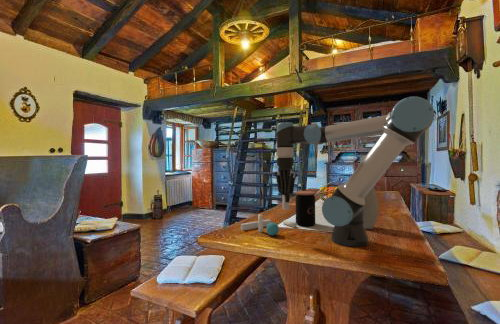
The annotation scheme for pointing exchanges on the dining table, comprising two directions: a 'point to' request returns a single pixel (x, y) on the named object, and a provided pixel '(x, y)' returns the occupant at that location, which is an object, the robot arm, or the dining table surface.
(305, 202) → the coffee jar
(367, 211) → the bowling pin
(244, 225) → the back wall
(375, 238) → the dining table surface
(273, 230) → the ball
